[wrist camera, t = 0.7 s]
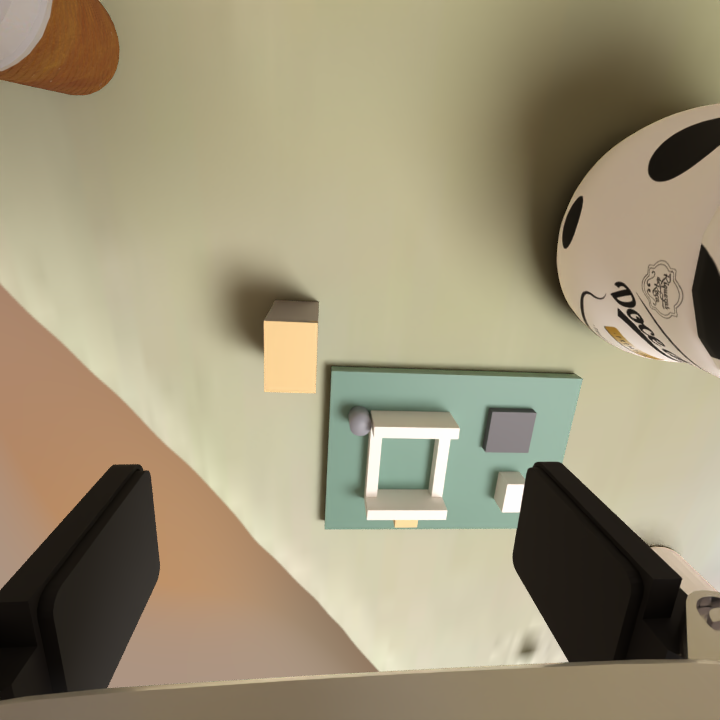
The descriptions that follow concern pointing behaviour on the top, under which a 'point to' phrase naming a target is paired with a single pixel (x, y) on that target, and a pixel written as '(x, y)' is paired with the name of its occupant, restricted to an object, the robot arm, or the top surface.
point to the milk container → (650, 242)
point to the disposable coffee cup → (57, 45)
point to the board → (440, 445)
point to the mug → (683, 571)
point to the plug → (291, 347)
